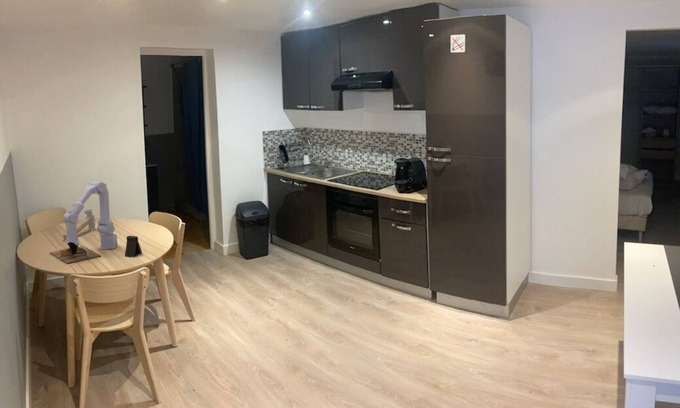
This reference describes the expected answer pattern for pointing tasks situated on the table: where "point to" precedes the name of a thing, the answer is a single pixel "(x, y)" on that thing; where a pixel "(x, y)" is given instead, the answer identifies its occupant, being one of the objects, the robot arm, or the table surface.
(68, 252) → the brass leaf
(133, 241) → the phone stand
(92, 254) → the walnut board
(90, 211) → the hammer
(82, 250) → the strip
